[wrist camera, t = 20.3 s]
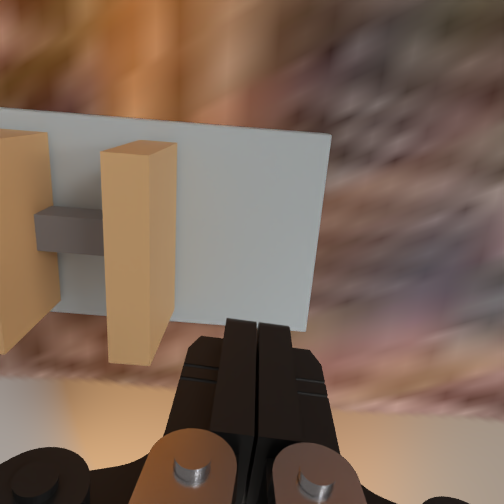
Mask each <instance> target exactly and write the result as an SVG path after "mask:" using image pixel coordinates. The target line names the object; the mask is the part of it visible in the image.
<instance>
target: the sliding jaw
mask: <svg viewBox="0 0 504 504" xmlns="http://www.w3.org/2000/svg"><path fill="white" fill-rule="evenodd" d="M100 166H101V190H102V210H99V209H86V208H74V207H61V206H53V194H52V182H51V169H50V157H49V144H48V132H38V131H25V130H13V129H0V354H6V353H7V352H8V351H9V350H10V349H11V348H13V347H14V346H15V345H16V344H17V343H18V342H19V341H20V340H21V339H22V338H23V337H24V336H25V335H26V334H27V333H28V332H29V331H30V330H31V329H32V328H33V327H34V326H35V325H36V324H37V323H38V322H39V321H40V320H41V319H42V318H43V317H44V316H45V315H46V314H47V313H48V312H50V311H51V310H52V309H53V308H54V307H55V306H56V305H57V304H58V303H59V302H60V301H61V294H60V282H59V269H58V257H57V252H60V253H72V254H85V255H97V256H104V262H105V286H106V310H107V334H108V359H109V363H118V364H131V365H144V366H150V365H151V363H152V360H153V358H154V356H155V353H156V351H157V349H158V346H159V344H160V342H161V339H162V337H163V335H164V332H165V330H166V328H167V325H168V323H169V321H170V319H171V316H172V314H173V312H174V308H175V250H176V191H177V143H176V142H163V141H151V140H137V141H134V142H131V143H127V144H124V145H121V146H117V147H114V148H110V149H107V150H104V151H100Z"/></svg>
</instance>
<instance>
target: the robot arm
mask: <svg viewBox="0 0 504 504" xmlns="http://www.w3.org/2000/svg"><path fill="white" fill-rule="evenodd" d="M324 382H325V380H324V376H323V371H322V366H321V364H320V363H319V361H318V360H317V359H316V358H315V356H314V355H313V354H312V353H311V351H310V350H305V349H298V348H292V342H291V333H290V327H289V326H285V325H278V324H270V323H263V322H259V323H258V327H257V322H255V321H247V320H240V319H232V318H226V325H225V331H224V338H223V339H221V338H213V337H206V336H200V337H199V338H198V339H197V340H196V341H195V342H194V343H193V344H192V345H191V346H190V347H189V348H188V351H187V355H186V358H185V362H184V366H183V369H182V373H181V376H180V380H179V383H178V387H177V390H176V394H175V398H174V401H173V405H172V409H171V412H170V415H169V419H168V423H167V426H166V430H165V433H164V435H163V437H162V438H161V439H160V440H158V441H157V442H156V443H155V445H154V446H153V447H152V449H151V450H150V452H149V453H148V454H147V455H145V456H144V457H142V458H140V459H138V460H136V461H134V462H131V463H129V464H125V465H121V466H116V467H110V468H104V469H98V470H92V471H89V468H88V466H87V464H86V462H85V461H84V459H83V458H81V457H80V456H79V455H78V454H76V453H74V452H72V451H70V450H67V449H64V448H58V447H45V448H38V449H34V450H30V451H27V452H24V453H21V454H20V455H17V456H15V457H13V458H11V459H9V460H8V461H5V462H3V463H2V464H0V504H396V503H394V502H391V501H389V500H387V499H384V498H382V497H380V496H378V495H376V494H374V493H372V492H371V491H369V490H368V489H366V488H365V487H364V486H363V485H361V484H360V481H359V478H358V476H357V474H356V472H355V470H354V469H353V467H352V466H351V465H350V464H349V462H348V461H347V460H346V459H345V458H344V457H342V456H341V455H340V451H339V446H338V442H337V437H336V432H335V427H334V423H333V418H332V413H331V409H330V404H329V399H328V398H327V395H328V394H327V390H326V385H325V384H324ZM423 504H469V503H467V502H464V501H462V500H459V499H456V498H451V497H442V496H441V497H434V498H430V499H428V500H427V501H425V502H424V503H423Z"/></svg>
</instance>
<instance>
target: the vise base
mask: <svg viewBox="0 0 504 504" xmlns="http://www.w3.org/2000/svg"><path fill="white" fill-rule="evenodd" d="M0 129H13V130H25V131H38V132H48V144H49V157H50V169H51V182H52V194H53V206H61V207H74V208H86V209H99V210H102V190H101V166H100V151H104V150H107V149H110V148H114V147H117V146H121V145H124V144H127V143H131V142H134V141H137V140H151V141H163V142H176V143H177V191H176V250H175V308H174V312H173V314H172V316H171V319H170V321H176V322H189V323H202V324H214V325H226V318H232V319H240V320H247V321H255V322H257V327H258V323H259V322H263V323H270V324H278V325H285V326H289V327H290V331H302V332H306V326H307V318H308V311H309V303H310V295H311V288H312V280H313V273H314V265H315V258H316V250H317V243H318V235H319V228H320V220H321V213H322V205H323V198H324V190H325V183H326V175H327V167H328V160H329V152H330V145H331V137H332V135H330V134H328V133H316V132H304V131H291V130H279V129H266V128H254V127H241V126H229V125H216V124H204V123H191V122H179V121H166V120H154V119H141V118H129V117H116V116H104V115H91V114H79V113H66V112H54V111H41V110H29V109H16V108H4V107H0ZM57 257H58V269H59V282H60V294H61V301H60V302H59V303H58V304H57V305H56V306H55V307H54V308H53V309H52V310H51V312H63V313H76V314H88V315H101V316H107V310H106V286H105V262H104V256H97V255H85V254H72V253H60V252H57Z"/></svg>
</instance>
